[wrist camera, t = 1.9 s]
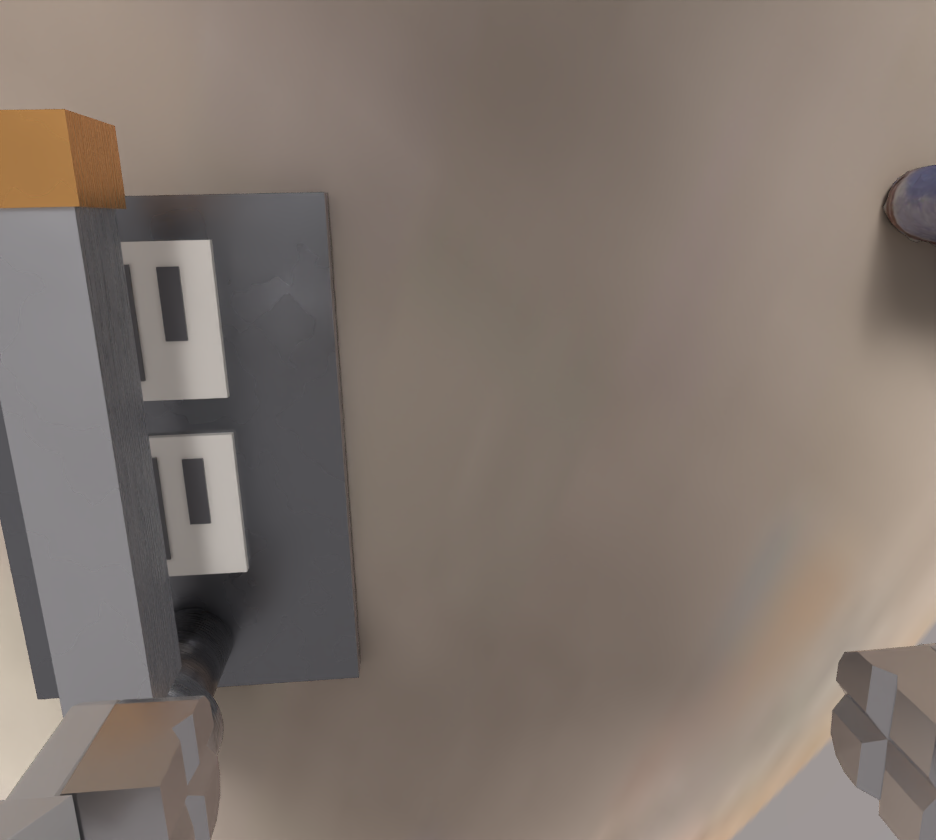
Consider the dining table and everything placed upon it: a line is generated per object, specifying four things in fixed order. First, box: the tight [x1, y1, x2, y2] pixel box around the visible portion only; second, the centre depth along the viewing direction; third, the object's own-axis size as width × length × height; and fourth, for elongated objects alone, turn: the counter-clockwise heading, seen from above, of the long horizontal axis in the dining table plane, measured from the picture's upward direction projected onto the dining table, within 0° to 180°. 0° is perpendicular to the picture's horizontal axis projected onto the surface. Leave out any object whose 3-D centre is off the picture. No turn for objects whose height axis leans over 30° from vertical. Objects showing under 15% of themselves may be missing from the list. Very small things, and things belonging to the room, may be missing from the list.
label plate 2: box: [149, 432, 249, 576], centre depth 26 cm, size 5×5×1 cm
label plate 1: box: [120, 240, 230, 401], centre depth 24 cm, size 5×5×1 cm
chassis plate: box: [0, 192, 360, 699], centre depth 26 cm, size 18×12×1 cm, turn 1°
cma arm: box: [0, 109, 224, 755], centre depth 19 cm, size 20×4×3 cm, turn 1°
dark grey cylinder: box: [174, 609, 233, 697], centre depth 25 cm, size 3×3×4 cm
